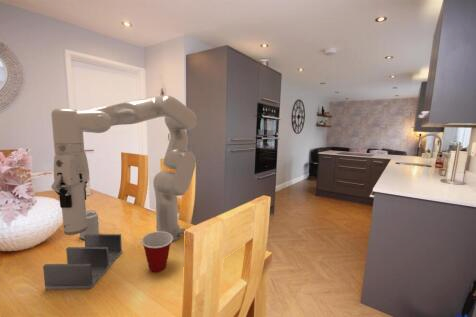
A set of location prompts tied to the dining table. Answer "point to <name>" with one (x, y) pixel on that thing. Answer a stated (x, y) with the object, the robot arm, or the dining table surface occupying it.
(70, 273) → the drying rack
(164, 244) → the plastic cup
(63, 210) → the travel mug
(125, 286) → the dining table surface
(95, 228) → the can
